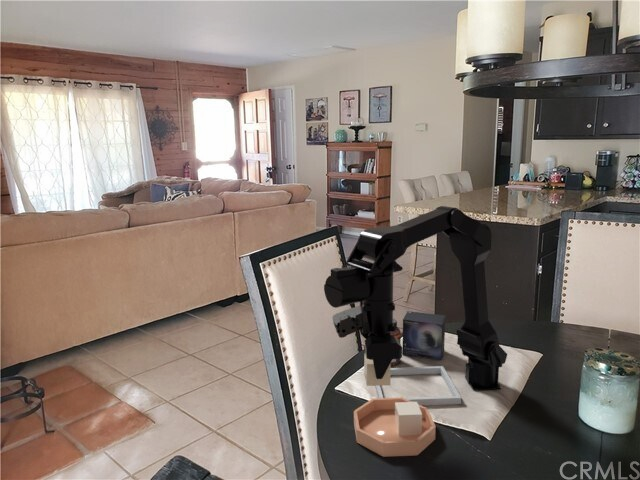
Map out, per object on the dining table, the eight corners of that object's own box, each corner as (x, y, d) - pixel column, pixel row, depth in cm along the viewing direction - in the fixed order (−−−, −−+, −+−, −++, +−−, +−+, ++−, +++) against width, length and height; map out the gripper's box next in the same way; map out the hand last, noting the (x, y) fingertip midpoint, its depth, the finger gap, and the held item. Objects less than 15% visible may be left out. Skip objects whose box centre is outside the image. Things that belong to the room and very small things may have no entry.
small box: (401, 355, 127) (401, 318, 125) (406, 345, 133) (406, 310, 131) (441, 361, 123) (442, 323, 121) (445, 350, 129) (446, 314, 127)
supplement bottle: (400, 367, 121) (400, 325, 118) (376, 365, 122) (376, 324, 119) (400, 356, 126) (401, 316, 124) (378, 355, 128) (378, 315, 125)
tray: (442, 371, 118) (442, 366, 117) (460, 403, 103) (461, 397, 103) (372, 374, 117) (371, 368, 117) (380, 407, 103) (380, 400, 103)
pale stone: (416, 421, 97) (417, 401, 96) (421, 435, 93) (421, 414, 92) (394, 422, 97) (394, 402, 96) (398, 435, 93) (398, 415, 92)
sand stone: (386, 373, 95) (386, 353, 94) (390, 385, 90) (390, 363, 90) (364, 374, 95) (364, 353, 94) (366, 385, 90) (366, 364, 89)
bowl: (422, 408, 102) (422, 396, 102) (441, 454, 87) (442, 441, 87) (351, 411, 102) (351, 399, 102) (359, 457, 87) (358, 444, 87)
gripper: (332, 282, 98) (334, 352, 101) (337, 315, 80) (338, 399, 83) (386, 281, 98) (386, 351, 101) (403, 313, 80) (402, 397, 83)
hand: (377, 372), depth 92 cm, fingers closed on sand stone, 4 cm apart
